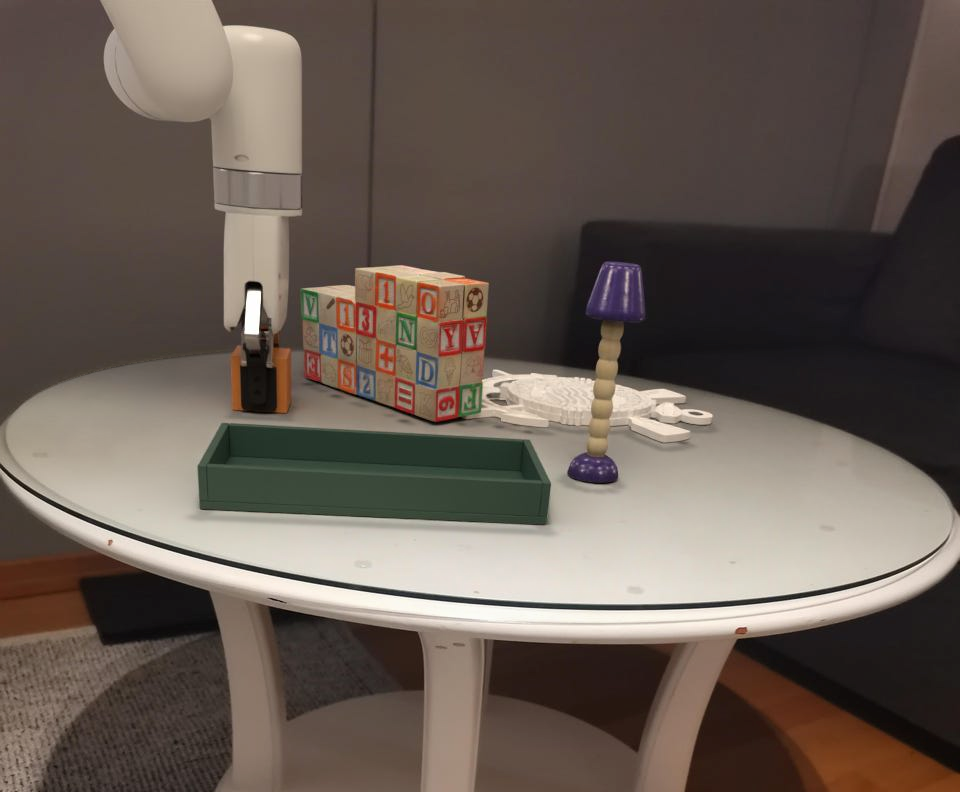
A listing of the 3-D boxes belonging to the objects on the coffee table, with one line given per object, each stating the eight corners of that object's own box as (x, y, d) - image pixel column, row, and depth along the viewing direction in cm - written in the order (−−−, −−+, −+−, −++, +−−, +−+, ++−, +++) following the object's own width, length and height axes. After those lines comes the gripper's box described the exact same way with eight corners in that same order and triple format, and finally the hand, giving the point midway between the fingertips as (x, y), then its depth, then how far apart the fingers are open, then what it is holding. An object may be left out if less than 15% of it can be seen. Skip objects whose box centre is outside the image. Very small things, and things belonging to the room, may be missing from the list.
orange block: (232, 410, 91) (230, 355, 88) (239, 397, 95) (237, 344, 93) (286, 413, 91) (286, 358, 89) (291, 400, 96) (291, 348, 93)
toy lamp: (557, 466, 83) (582, 257, 75) (606, 465, 84) (636, 260, 77) (579, 484, 79) (608, 265, 71) (631, 483, 80) (664, 268, 73)
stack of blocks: (302, 378, 104) (298, 256, 99) (349, 372, 108) (347, 254, 103) (436, 422, 91) (439, 283, 85) (483, 413, 95) (490, 279, 89)
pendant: (465, 372, 114) (466, 360, 113) (706, 399, 111) (709, 387, 110) (427, 414, 95) (428, 400, 94) (717, 449, 92) (720, 434, 91)
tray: (199, 509, 67) (197, 465, 65) (223, 461, 77) (221, 422, 75) (546, 524, 70) (551, 483, 68) (526, 476, 79) (530, 439, 78)
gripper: (228, 186, 92) (234, 380, 100) (197, 195, 77) (208, 423, 85) (308, 192, 93) (308, 385, 101) (294, 203, 78) (295, 428, 86)
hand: (262, 400), depth 93 cm, fingers closed on orange block, 5 cm apart
